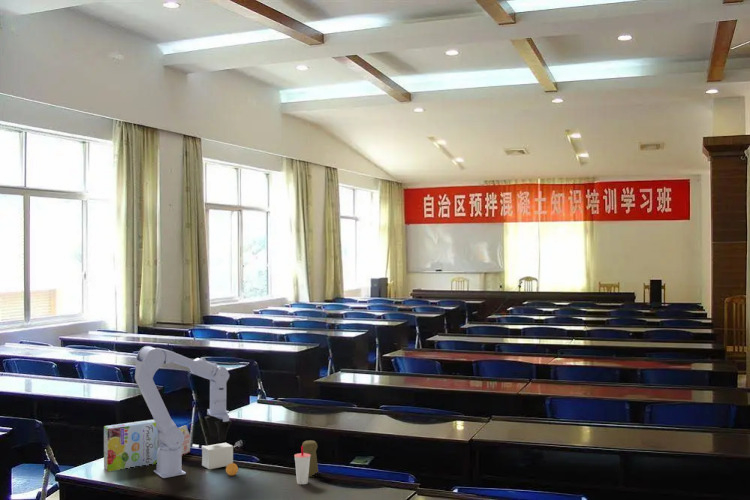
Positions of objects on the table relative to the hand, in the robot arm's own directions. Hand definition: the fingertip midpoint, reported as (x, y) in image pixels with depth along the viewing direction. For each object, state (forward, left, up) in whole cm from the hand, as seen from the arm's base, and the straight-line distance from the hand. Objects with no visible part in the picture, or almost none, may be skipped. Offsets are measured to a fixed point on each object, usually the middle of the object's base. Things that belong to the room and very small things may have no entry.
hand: (217, 438), depth 243 cm
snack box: (-17, -23, -10) cm, 30 cm away
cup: (+35, +14, -10) cm, 39 cm away
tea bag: (-22, -5, -10) cm, 25 cm away
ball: (+14, -1, -7) cm, 16 cm away
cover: (0, 0, -9) cm, 9 cm away
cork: (+28, +21, -10) cm, 36 cm away
